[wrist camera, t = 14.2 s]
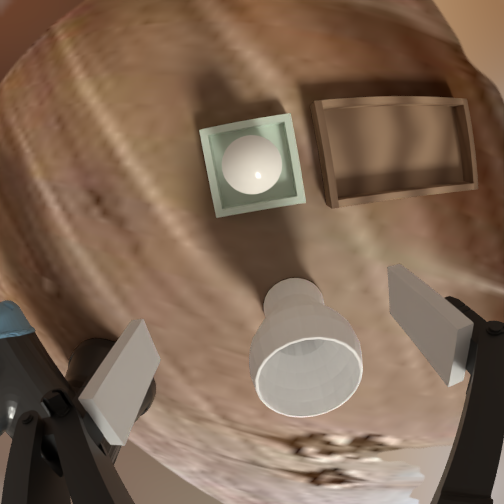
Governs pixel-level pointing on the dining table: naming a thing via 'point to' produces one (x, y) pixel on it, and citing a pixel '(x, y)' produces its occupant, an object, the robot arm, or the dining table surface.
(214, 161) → the dish
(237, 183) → the white rounded cylinder
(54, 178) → the dining table surface
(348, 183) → the tray
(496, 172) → the dining table surface
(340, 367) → the cup
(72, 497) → the robot arm
